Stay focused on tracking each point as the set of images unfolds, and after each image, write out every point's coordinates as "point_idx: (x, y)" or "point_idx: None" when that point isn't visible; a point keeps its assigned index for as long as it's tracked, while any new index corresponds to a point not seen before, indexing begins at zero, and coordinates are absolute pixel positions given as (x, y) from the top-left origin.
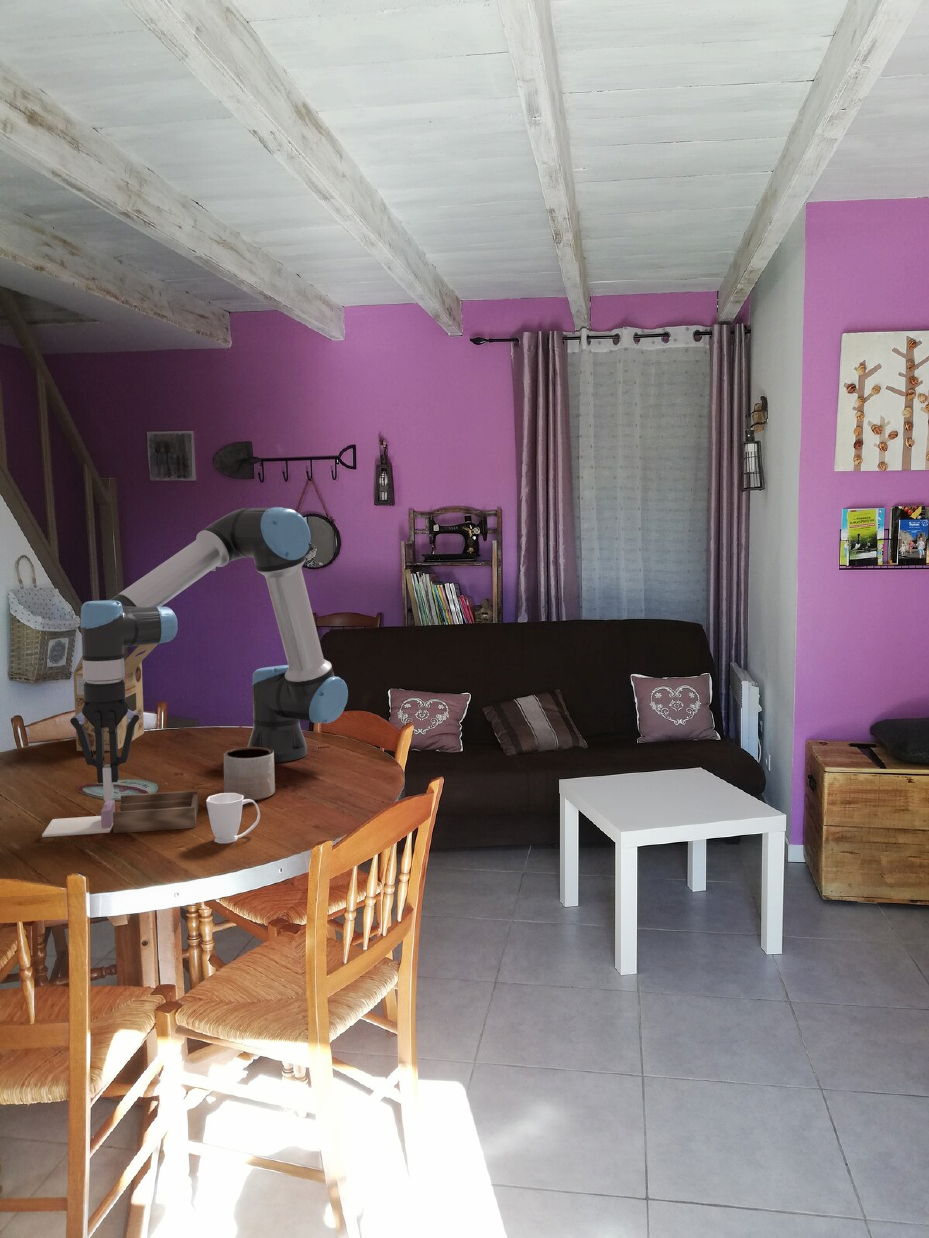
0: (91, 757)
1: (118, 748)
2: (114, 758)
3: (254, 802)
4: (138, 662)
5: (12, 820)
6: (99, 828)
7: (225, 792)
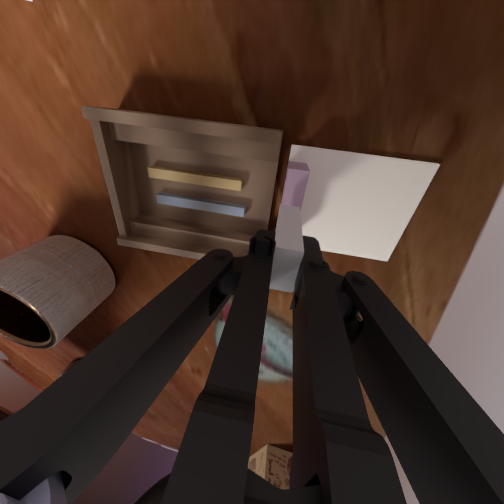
0: (356, 291)
1: (264, 446)
2: (253, 267)
3: None
4: None
5: (451, 289)
6: (311, 165)
7: (104, 268)
